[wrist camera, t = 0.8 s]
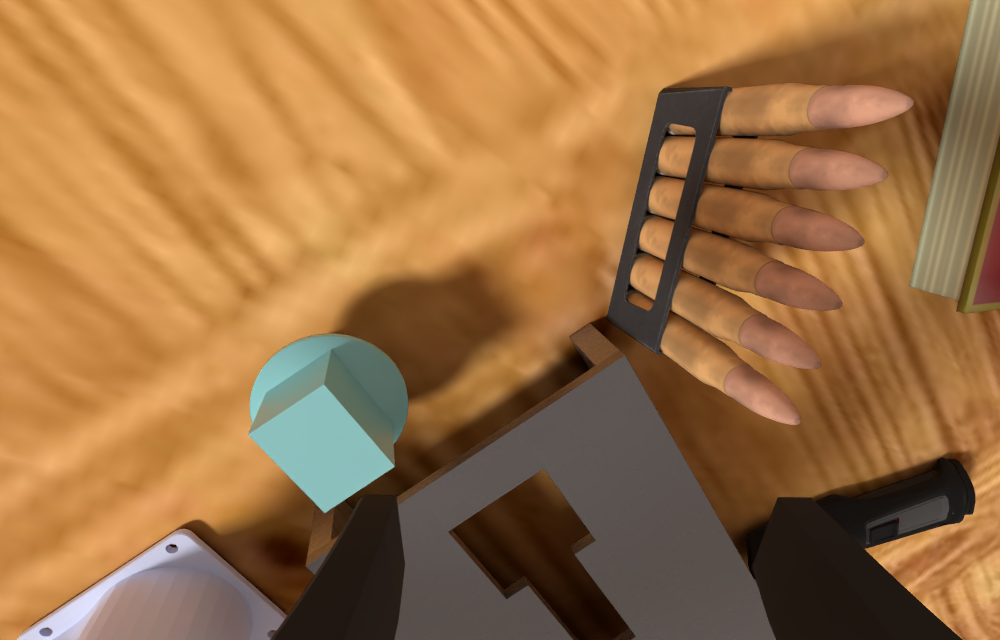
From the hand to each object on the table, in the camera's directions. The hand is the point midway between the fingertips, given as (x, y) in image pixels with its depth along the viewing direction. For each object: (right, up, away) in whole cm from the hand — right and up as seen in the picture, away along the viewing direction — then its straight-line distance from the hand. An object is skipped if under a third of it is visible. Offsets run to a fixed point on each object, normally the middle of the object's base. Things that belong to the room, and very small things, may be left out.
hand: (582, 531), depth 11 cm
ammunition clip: (+5, +9, +16) cm, 19 cm away
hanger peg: (-9, +2, +15) cm, 17 cm away
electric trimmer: (+20, -8, +25) cm, 33 cm away
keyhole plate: (+2, -9, +21) cm, 23 cm away
